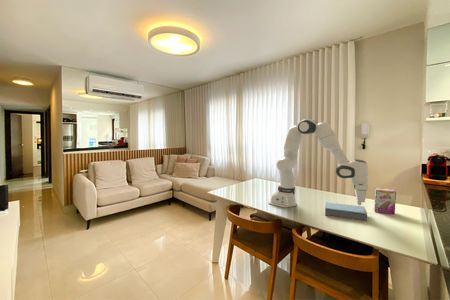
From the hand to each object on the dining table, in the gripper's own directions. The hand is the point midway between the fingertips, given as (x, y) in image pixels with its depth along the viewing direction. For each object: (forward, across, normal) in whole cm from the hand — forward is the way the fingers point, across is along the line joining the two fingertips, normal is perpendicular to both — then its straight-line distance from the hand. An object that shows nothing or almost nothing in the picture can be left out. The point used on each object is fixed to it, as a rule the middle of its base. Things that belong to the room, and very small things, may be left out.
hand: (359, 204), depth 134 cm
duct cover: (+4, -2, -8) cm, 9 cm away
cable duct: (+9, -1, -8) cm, 12 cm away
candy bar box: (+9, -17, +17) cm, 26 cm away
